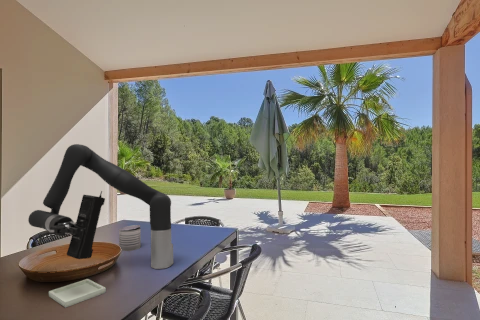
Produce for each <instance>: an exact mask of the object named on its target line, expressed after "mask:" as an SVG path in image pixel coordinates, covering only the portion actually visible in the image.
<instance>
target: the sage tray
mask: <svg viewBox="0 0 480 320" xmlns="http://www.w3.org/2000/svg"><path fill="white" fill-rule="evenodd" d="M106 289H107V288H106V287H105V286H103V285H101V284H99V283H97V282H96V281H95V282H94V281H93V280H91V279H89V278H86V279H83V280H80V281H77V282H74V283H70V284H67V285H64V286H61V287H57V288H55V289H52V290H49V291H48V297H49V298H50V299H52V300H53V301H55V302H56V303H58V304H59V305H61V306H63V307H64V308H68V307H71V306H73V305H76V304H79V303H82V302H84V301H87V300H90V299H93V298H95V297H99V296H100V295H103V294H106Z"/></svg>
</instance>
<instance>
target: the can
mask: <svg viewBox="0 0 480 320" xmlns="http://www.w3.org/2000/svg"><path fill="white" fill-rule="evenodd" d="M141 231H142V230H141V225H140V224H138V225H137V224H133V225H128V226H123V227H120V228H119V229H118V233H119V234H118V242H119V244H118V245H119V246H120V247H121V249H122V251H121V252H132V251H133V252H134V251H136V250H140V248H141V247H142V246H141V245H142V243H141V235H142V234H141Z"/></svg>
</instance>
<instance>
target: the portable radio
mask: <svg viewBox="0 0 480 320" xmlns="http://www.w3.org/2000/svg"><path fill="white" fill-rule="evenodd" d="M102 193H103V191H102V190H100V195H99V196H95V195H89V194H83V195H82V197H81V202H80V207H79V209H78V214H77V218H76V222H75V223H76V225H75V227H74V228H76V229H77V234H76V235H73V234H71V239H70V242H69V245H68V249H67V250H66V251H67V252H66V256H67V257H70V258H74V259H77V260H82V259H83V260H84V259H91V258H92V256H93V252H94V249H93V245H94V242H95V241H94V240H95V235H96V232H97V228H98V223H99V218H100V215H101V211H102V206H104V205H105V201H106V198H104V197H102Z"/></svg>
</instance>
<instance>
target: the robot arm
mask: <svg viewBox="0 0 480 320" xmlns="http://www.w3.org/2000/svg"><path fill="white" fill-rule="evenodd" d="M80 167H84V168H86V169H88V170H90V171H92V172H93V173H94V174H96V175H97V176H98V177H100V178H101V179H102V180H103V181H104V182H105V183H106V184H108V185H109V186H110V187H112V188H114V190H117V191H119V192H120V193H123V194H125V195H128V196H130V197H133V198H136V199H139V200H140V201H142V202H144V203H145V204H147V205H148V206H149V224H150V225H149V226H150V267H151V268H152V269H155V270H163V269H168V268H170V267H171V266H172V265H174V244H173V243H172V219H171V212H172V211H171V209H172V208H171V207H172V200H171V198H170V197H169V195H167V194H166V193H164V192H161V191H159V190H157V189H155V188H153V187H151V186H149V185H148V184H146V183H145V182H143V181H142V180H141V179H140V178H138V177H137V176H135V175H133V174H132V173H131V172H129V171H128V170H125V169H124V168H122V167H121V166H118V165H116V164H115V163H112V162H110V161H108V160H107V159H105V158H103V157H102V156H101V155H99V154H97V153H96V152H95V151H94V150H92V149H91V148H90V147H89V146H86V145H84V144H79V143H78V144H77V143H76V144H75V143H74V144H71V145H69V146H68V147H67V148H66V150H65V152H64V155H63V159H62V162H61V165H60V167H59V169H58V172H57V174H56V176H55V178H54V181H53V183H52V185H51V186H50V188H49V190H48V191H47V193H46V196H45V198H44V199H43V202H42V205H43V206H44V207H46V208H49V209H51V210H50V211H46V210H42V209H41V210H40V209H36V210H33V211H32V212H31V213H30V214H29V216H28V220H27V221H28V223H29V225H30V226H31V227H35V228H39V229H43V230H44V231H48V232H49V233H48V234H49V235H57V236H59V237H64V236H67V235H72V234H73V235H76V234H77V229H76V228H74V227H75V225H76V222H75V221H74V220H73V219H72V218H71V217H70V216H67V215H66V216H65V215H62V214H59V213H60V211H61V207H62V205H63V204H64V203H63V202H64V201H65V199H66V197H67V195H68V193H69V191H70V187H71V184H72V180H73V178H74V176H75V174H76V172H77V171H78V170H79V168H80Z"/></svg>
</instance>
